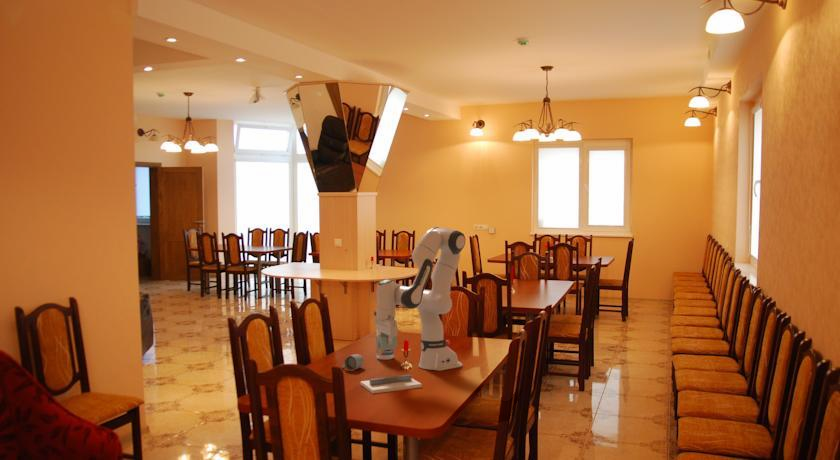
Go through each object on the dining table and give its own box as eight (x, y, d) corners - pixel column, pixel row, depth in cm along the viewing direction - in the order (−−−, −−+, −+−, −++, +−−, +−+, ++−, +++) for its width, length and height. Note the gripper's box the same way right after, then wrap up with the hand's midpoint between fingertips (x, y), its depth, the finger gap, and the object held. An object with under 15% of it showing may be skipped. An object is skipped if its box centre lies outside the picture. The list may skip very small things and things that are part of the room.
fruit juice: (382, 355, 375) (382, 304, 374) (396, 357, 371) (396, 306, 369) (372, 358, 367) (372, 307, 366) (387, 360, 362) (387, 308, 361)
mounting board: (407, 378, 326) (407, 375, 326) (421, 387, 312) (421, 383, 312) (360, 384, 316) (360, 381, 316) (372, 393, 302) (372, 390, 302)
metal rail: (409, 379, 319) (409, 374, 319) (411, 380, 317) (411, 375, 317) (369, 384, 311) (369, 379, 311) (371, 385, 309) (371, 380, 309)
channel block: (392, 345, 331) (391, 333, 331) (397, 348, 326) (397, 336, 325) (376, 347, 328) (376, 335, 328) (381, 350, 322) (381, 337, 322)
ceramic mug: (365, 368, 347) (364, 353, 347) (356, 371, 340) (356, 356, 340) (347, 366, 352) (347, 351, 351) (338, 369, 344) (338, 354, 344)
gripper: (400, 316, 318) (401, 346, 319) (384, 310, 336) (385, 337, 337) (388, 318, 315) (388, 347, 316) (372, 311, 334) (373, 339, 334)
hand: (386, 342), depth 327 cm, fingers closed on channel block, 6 cm apart
